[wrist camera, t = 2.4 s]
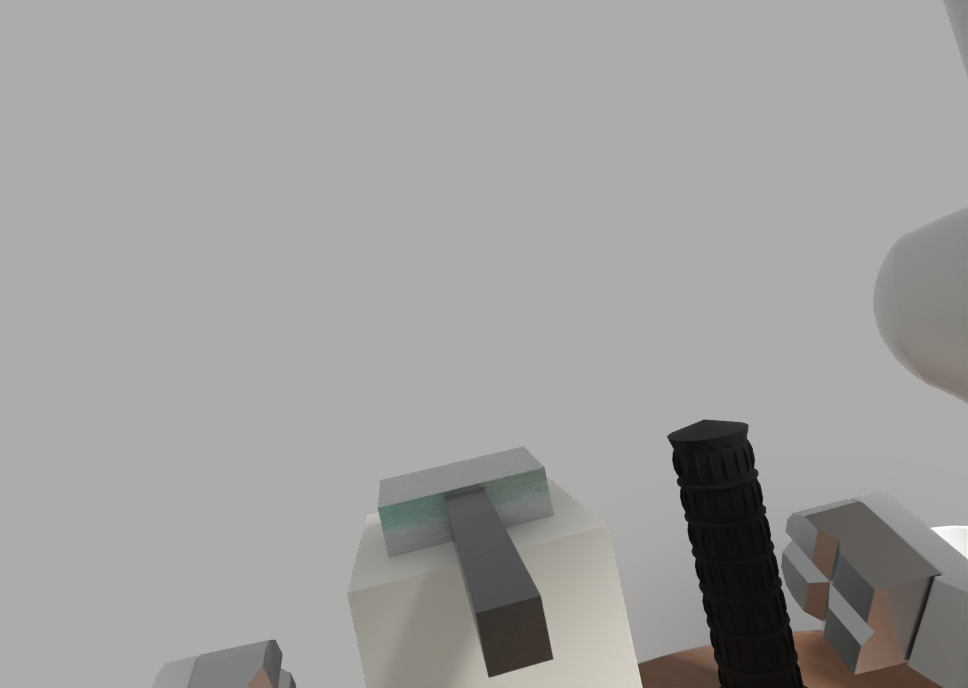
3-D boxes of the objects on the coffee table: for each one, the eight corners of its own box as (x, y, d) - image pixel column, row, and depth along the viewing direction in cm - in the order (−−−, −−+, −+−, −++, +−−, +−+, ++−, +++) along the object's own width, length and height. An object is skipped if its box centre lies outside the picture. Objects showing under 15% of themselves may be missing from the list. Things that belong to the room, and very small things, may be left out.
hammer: (531, 488, 42) (523, 446, 41) (653, 638, 22) (639, 560, 22) (389, 523, 40) (380, 480, 40) (383, 716, 21) (365, 634, 20)
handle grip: (855, 741, 47) (799, 671, 57) (785, 415, 48) (741, 402, 58) (729, 760, 48) (695, 688, 58) (660, 440, 48) (638, 422, 58)
